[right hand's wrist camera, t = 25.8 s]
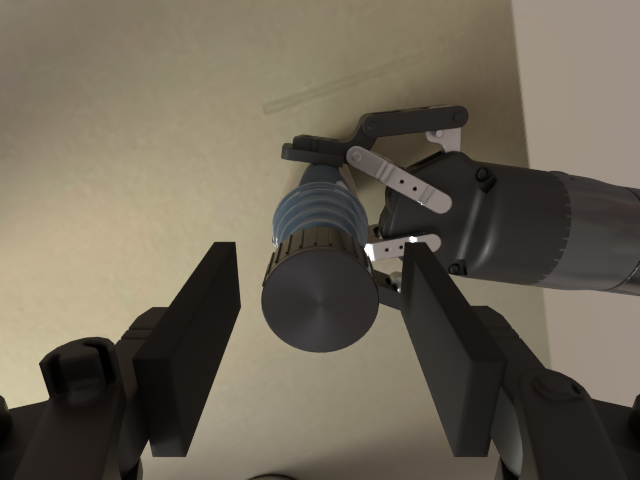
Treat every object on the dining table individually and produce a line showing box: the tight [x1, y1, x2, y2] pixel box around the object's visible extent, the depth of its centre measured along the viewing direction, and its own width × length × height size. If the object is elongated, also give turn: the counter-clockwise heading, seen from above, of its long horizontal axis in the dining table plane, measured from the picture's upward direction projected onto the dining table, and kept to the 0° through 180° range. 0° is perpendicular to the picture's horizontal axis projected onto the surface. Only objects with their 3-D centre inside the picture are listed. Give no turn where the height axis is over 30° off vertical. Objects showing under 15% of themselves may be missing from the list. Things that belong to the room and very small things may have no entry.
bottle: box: [272, 161, 368, 249], centre depth 22 cm, size 5×5×19 cm
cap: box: [261, 226, 379, 353], centre depth 13 cm, size 4×4×2 cm
